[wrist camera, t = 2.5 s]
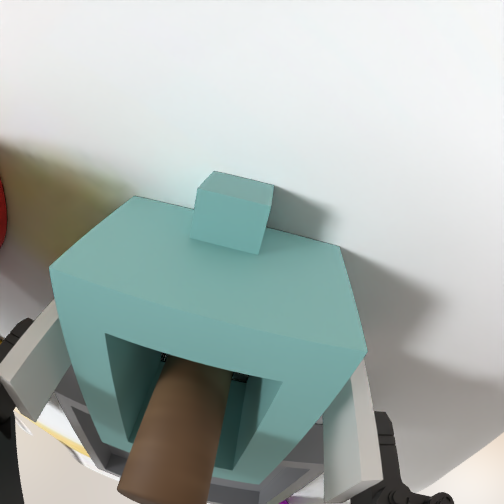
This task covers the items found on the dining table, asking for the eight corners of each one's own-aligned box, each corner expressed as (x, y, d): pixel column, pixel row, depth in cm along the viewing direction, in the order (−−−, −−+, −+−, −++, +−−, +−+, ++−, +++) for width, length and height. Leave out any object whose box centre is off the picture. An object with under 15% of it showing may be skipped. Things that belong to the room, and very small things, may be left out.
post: (182, 337, 13) (123, 498, 6) (187, 295, 12) (109, 479, 5) (235, 351, 13) (200, 520, 6) (246, 311, 12) (208, 509, 5)
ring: (135, 368, 15) (102, 441, 11) (137, 156, 10) (41, 208, 5) (267, 403, 15) (258, 484, 11) (353, 207, 10) (400, 298, 5)
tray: (106, 446, 23) (97, 468, 21) (73, 358, 16) (53, 390, 13) (267, 488, 23) (265, 511, 21) (331, 425, 16) (333, 464, 14)
